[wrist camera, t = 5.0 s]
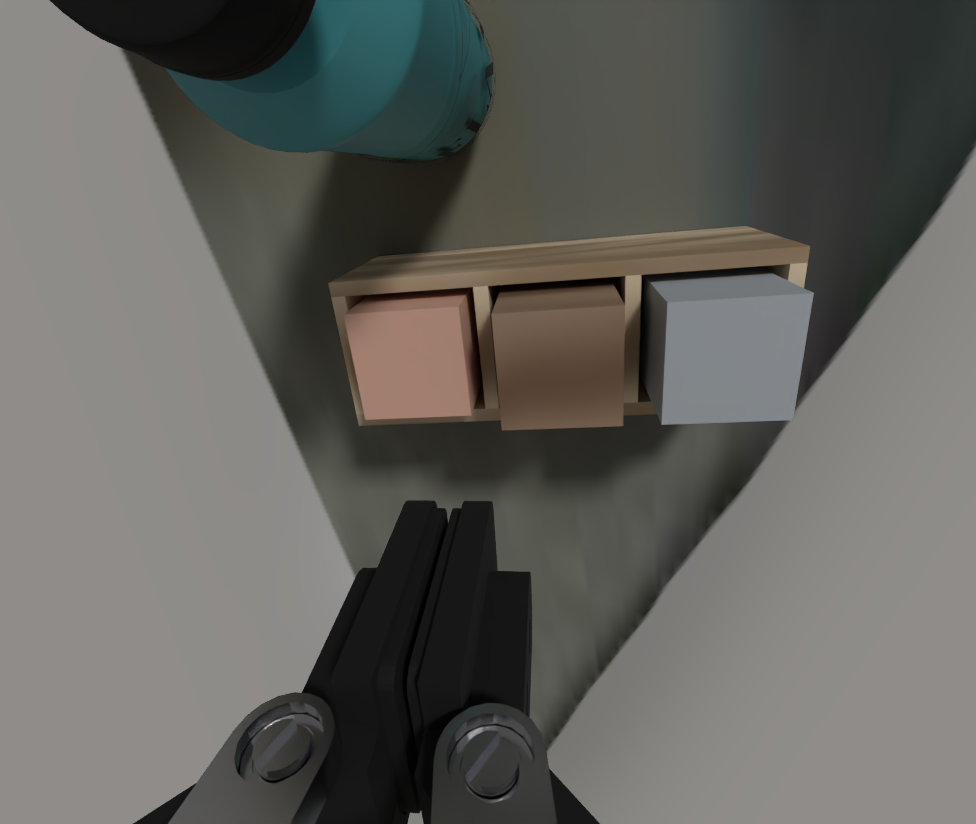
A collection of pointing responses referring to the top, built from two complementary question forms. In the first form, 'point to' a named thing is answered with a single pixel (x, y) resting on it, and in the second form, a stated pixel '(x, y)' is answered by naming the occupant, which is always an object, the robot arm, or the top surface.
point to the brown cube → (560, 354)
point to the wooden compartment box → (559, 263)
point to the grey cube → (723, 345)
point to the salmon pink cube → (416, 353)
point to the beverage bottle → (316, 68)
